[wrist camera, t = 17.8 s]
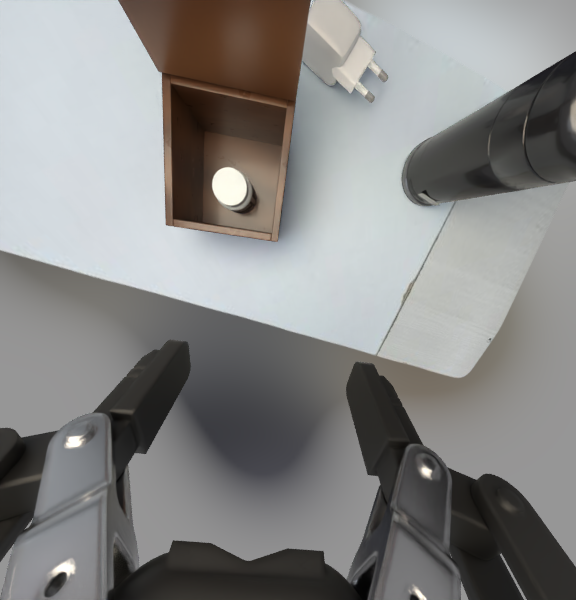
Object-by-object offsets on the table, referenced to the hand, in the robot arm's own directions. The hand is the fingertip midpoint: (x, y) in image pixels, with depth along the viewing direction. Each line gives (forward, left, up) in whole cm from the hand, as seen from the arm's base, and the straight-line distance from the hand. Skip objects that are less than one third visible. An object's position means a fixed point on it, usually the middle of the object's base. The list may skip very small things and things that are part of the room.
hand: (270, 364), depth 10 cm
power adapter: (-24, -13, -28) cm, 39 cm away
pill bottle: (-4, -11, -27) cm, 30 cm away
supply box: (-5, -12, -28) cm, 31 cm away
